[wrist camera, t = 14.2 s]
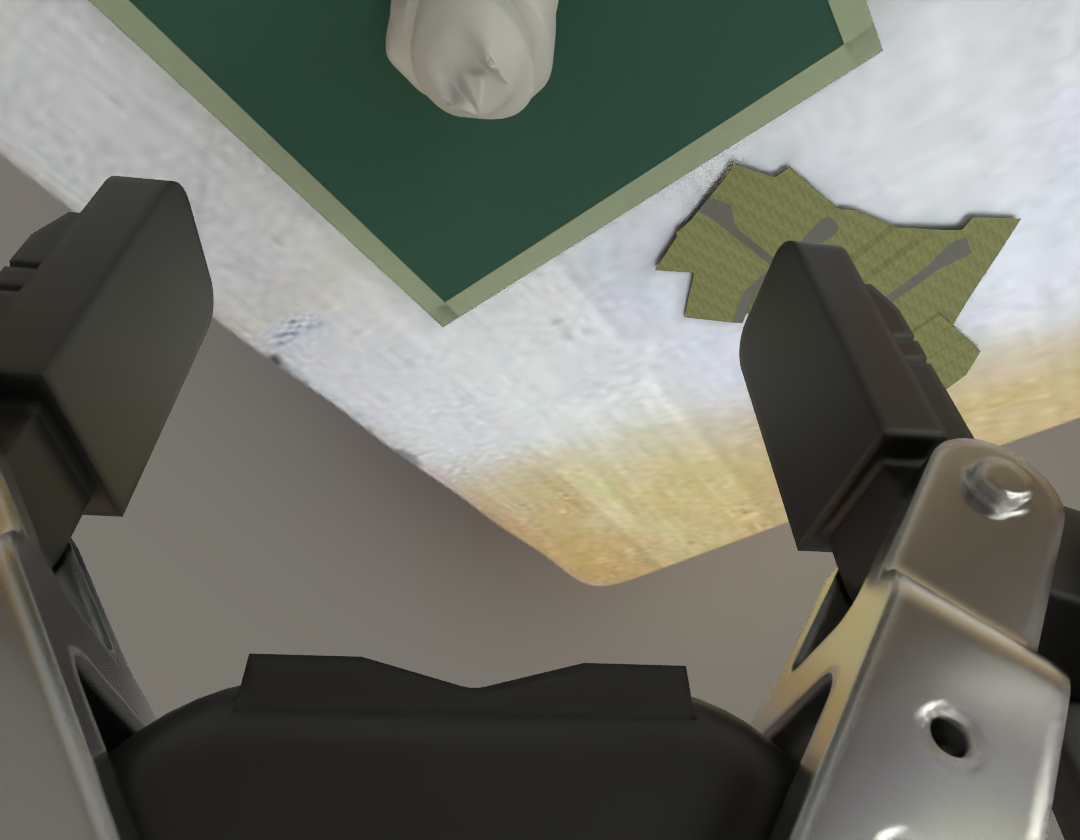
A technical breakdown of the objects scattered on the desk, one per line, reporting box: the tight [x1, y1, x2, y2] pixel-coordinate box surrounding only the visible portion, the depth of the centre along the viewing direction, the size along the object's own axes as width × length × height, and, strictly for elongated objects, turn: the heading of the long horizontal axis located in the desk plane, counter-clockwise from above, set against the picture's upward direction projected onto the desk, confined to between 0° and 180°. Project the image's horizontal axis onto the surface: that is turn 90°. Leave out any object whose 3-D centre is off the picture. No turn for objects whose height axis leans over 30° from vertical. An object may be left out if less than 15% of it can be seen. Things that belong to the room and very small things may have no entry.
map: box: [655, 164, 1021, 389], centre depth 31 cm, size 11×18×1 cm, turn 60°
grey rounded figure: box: [386, 0, 558, 119], centre depth 19 cm, size 5×7×8 cm
